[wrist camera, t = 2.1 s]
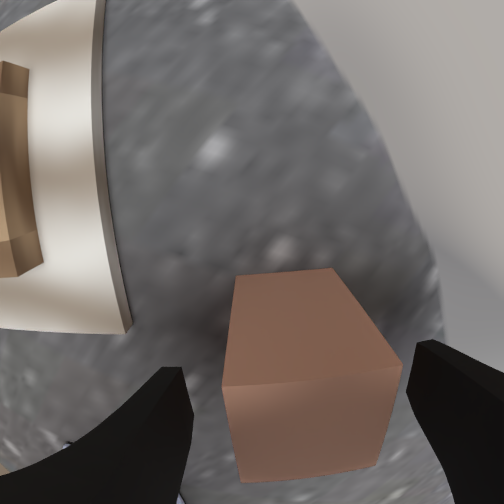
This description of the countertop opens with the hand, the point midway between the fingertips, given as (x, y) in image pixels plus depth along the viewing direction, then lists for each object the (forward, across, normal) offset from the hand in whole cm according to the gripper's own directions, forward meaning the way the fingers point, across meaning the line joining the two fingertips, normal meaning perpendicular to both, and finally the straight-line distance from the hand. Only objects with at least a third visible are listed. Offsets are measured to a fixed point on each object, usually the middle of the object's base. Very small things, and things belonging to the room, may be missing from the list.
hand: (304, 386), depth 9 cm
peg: (+5, 0, 0) cm, 5 cm away
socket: (+5, +15, -8) cm, 18 cm away
